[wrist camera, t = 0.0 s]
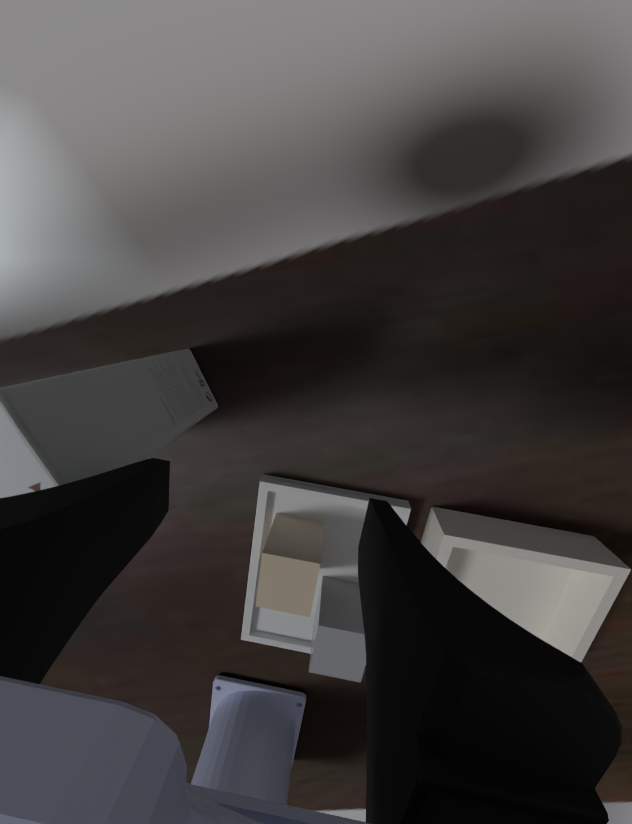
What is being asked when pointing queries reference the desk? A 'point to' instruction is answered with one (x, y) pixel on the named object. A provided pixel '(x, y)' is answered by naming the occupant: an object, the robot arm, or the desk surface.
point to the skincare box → (97, 419)
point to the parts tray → (337, 558)
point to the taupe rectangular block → (290, 565)
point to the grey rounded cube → (338, 631)
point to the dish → (531, 574)
